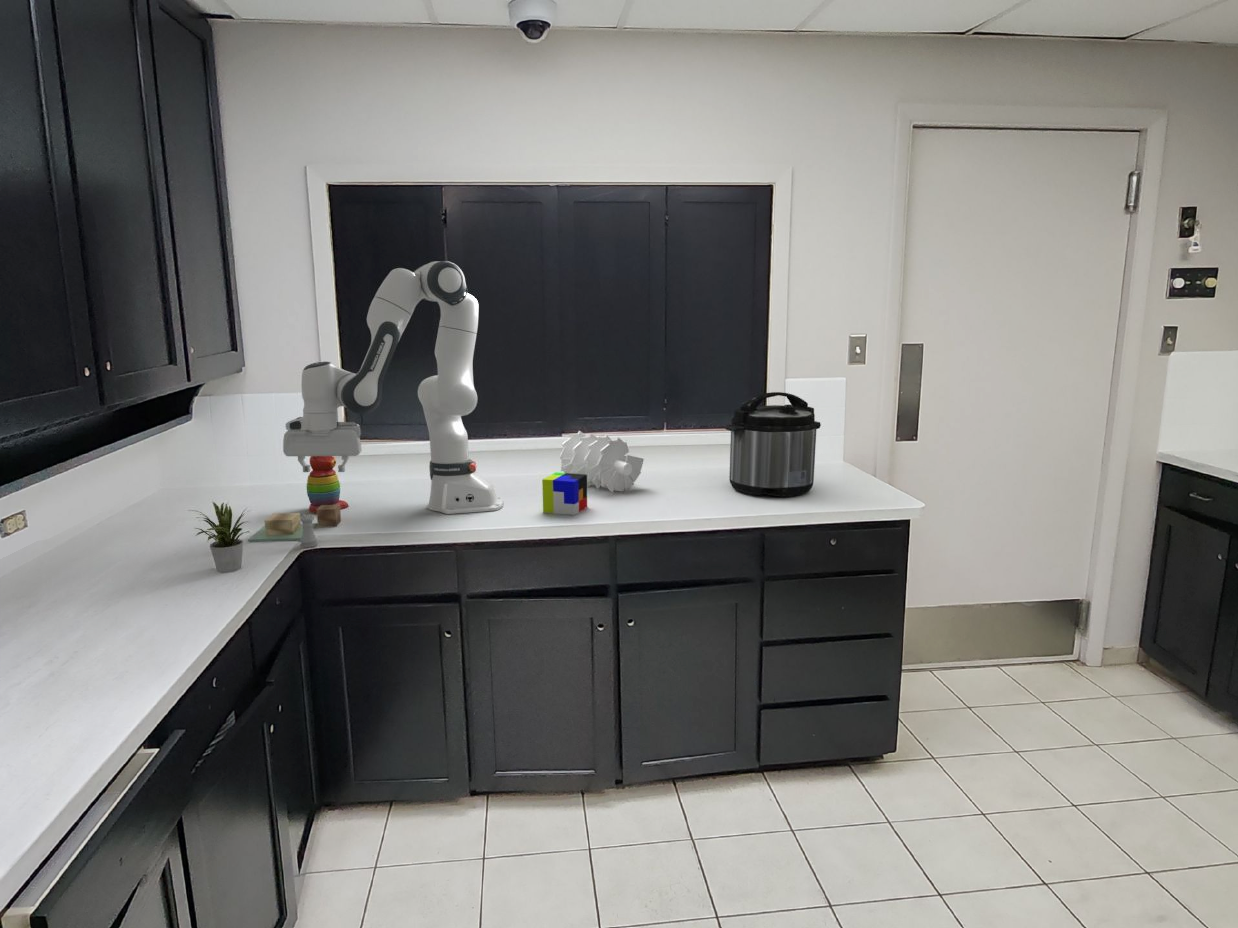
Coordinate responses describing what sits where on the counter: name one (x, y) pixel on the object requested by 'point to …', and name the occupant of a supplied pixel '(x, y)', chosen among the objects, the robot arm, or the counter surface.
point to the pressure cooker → (773, 447)
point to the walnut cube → (328, 515)
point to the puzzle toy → (564, 493)
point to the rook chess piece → (308, 532)
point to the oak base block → (282, 524)
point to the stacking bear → (323, 483)
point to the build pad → (262, 536)
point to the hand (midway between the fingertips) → (324, 471)
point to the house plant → (225, 540)
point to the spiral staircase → (600, 461)
